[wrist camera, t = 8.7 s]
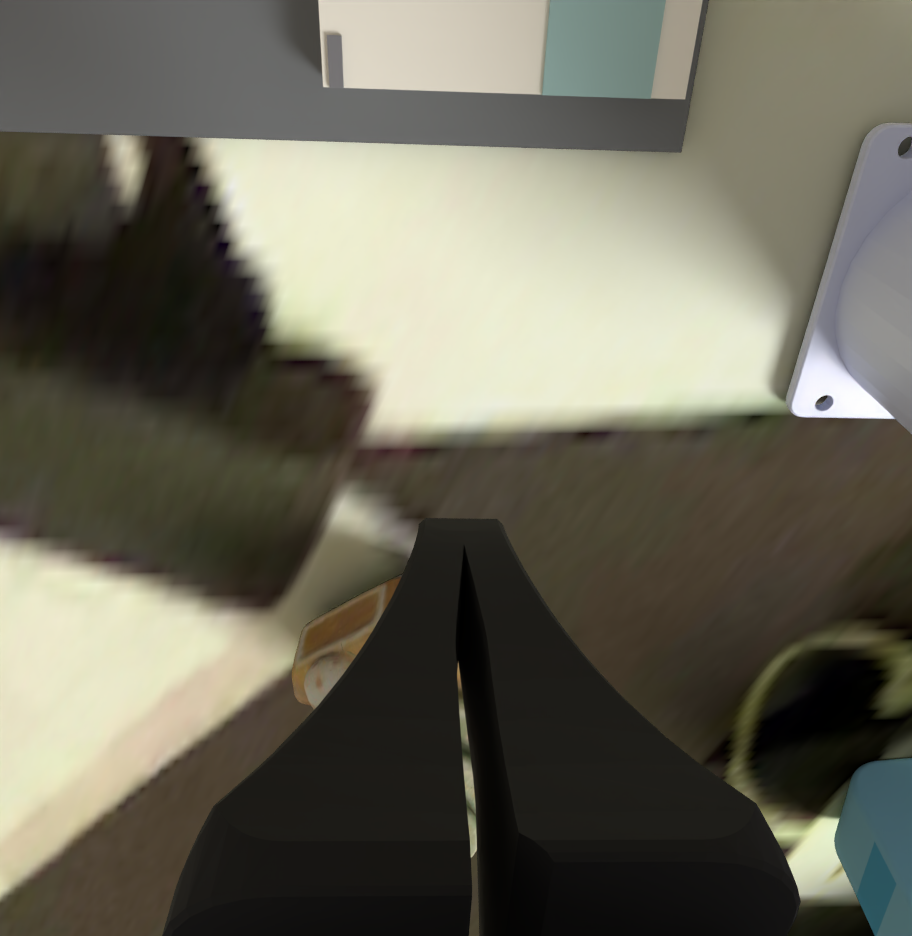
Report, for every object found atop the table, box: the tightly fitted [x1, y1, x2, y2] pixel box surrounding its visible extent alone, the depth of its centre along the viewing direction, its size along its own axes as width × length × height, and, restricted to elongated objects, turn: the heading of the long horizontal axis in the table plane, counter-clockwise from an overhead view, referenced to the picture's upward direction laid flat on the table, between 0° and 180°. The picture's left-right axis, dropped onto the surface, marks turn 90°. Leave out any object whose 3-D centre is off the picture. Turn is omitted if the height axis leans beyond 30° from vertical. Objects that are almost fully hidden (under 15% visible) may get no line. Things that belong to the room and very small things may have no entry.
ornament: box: [292, 575, 477, 857], centre depth 24 cm, size 8×6×10 cm
